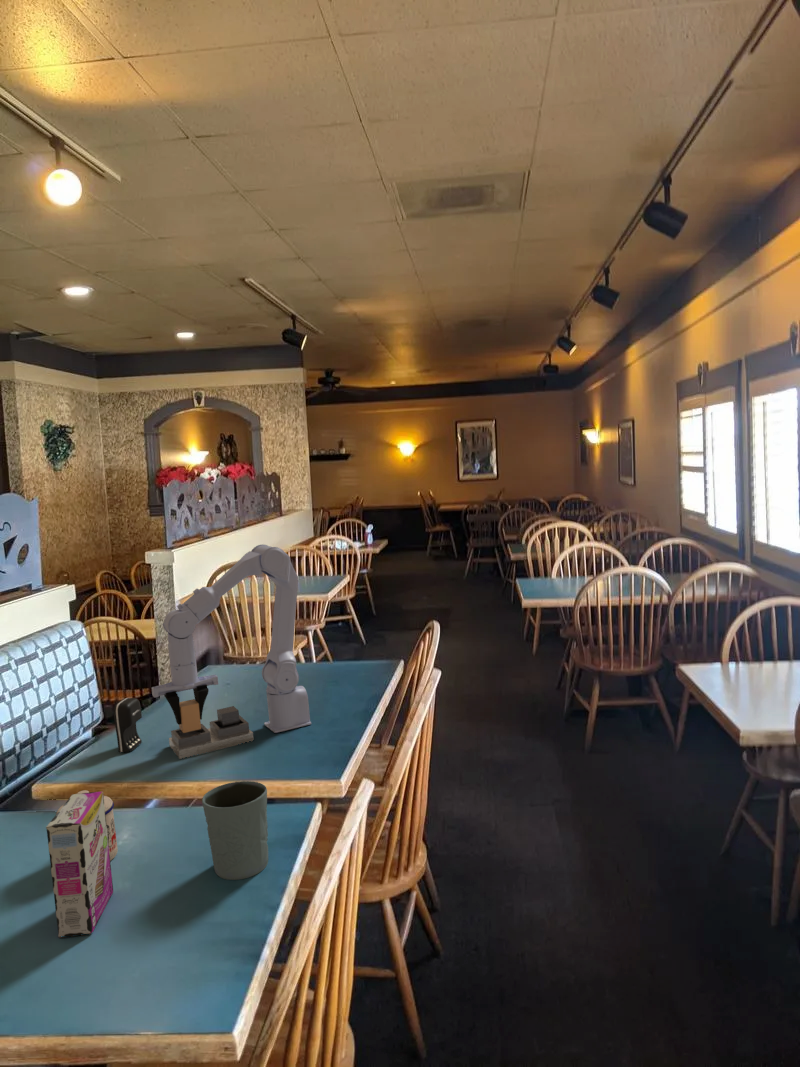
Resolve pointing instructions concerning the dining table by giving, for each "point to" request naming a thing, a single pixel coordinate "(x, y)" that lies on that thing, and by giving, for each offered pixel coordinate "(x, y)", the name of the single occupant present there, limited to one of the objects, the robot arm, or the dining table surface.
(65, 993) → the dining table surface
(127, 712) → the battery
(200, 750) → the power strip
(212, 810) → the grey cup
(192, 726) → the plug
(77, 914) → the candy bar box
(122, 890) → the dining table surface
